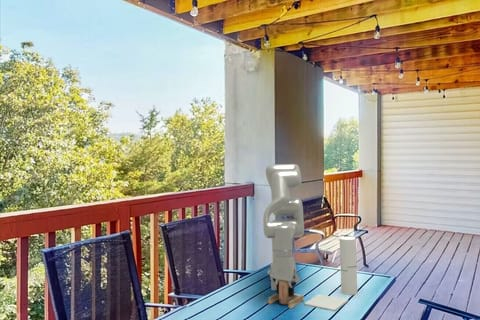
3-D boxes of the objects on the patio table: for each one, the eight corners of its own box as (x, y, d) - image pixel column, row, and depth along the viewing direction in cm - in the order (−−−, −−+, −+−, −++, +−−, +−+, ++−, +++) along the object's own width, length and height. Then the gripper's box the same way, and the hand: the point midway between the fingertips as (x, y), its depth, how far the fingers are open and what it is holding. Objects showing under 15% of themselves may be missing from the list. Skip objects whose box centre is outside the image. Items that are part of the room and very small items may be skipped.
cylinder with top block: (275, 303, 170) (275, 280, 170) (283, 299, 175) (282, 276, 175) (286, 306, 167) (285, 282, 167) (293, 301, 172) (292, 278, 172)
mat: (304, 304, 168) (304, 303, 168) (318, 295, 179) (318, 294, 179) (334, 311, 160) (334, 309, 160) (348, 301, 171) (348, 299, 171)
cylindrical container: (358, 295, 178) (356, 239, 178) (341, 294, 179) (339, 239, 179) (356, 290, 185) (354, 236, 185) (341, 289, 186) (339, 236, 186)
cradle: (268, 303, 171) (267, 297, 171) (281, 296, 180) (281, 290, 180) (291, 308, 164) (290, 302, 164) (303, 301, 173) (303, 295, 173)
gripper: (262, 252, 174) (264, 293, 174) (296, 257, 164) (298, 301, 164) (272, 249, 180) (273, 288, 180) (305, 253, 170) (306, 295, 170)
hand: (285, 294), depth 172 cm, fingers closed on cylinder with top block, 5 cm apart
